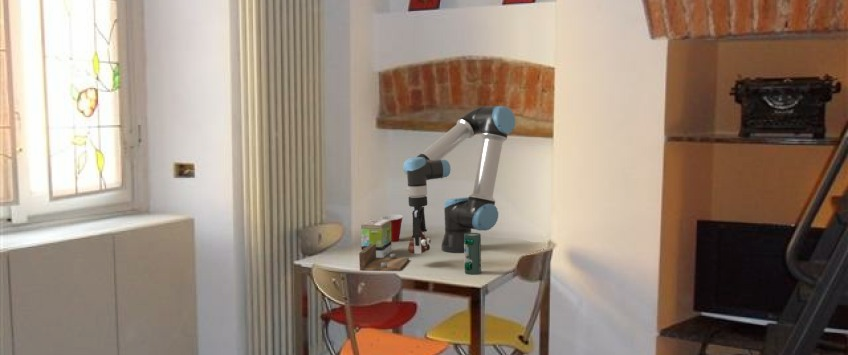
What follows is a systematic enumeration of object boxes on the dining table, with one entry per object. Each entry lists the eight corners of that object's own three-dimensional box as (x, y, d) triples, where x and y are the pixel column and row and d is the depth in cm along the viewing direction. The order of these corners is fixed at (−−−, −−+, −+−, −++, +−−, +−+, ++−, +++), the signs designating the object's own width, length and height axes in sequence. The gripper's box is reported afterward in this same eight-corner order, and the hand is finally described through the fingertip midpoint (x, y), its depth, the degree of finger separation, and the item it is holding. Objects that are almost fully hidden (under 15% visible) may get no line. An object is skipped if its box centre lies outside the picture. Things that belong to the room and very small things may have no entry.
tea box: (383, 259, 316) (382, 224, 314) (361, 258, 318) (359, 224, 316) (392, 252, 330) (391, 218, 329) (370, 251, 332) (369, 218, 331)
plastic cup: (376, 241, 355) (375, 216, 354) (391, 238, 364) (390, 213, 363) (394, 243, 349) (393, 218, 348) (408, 240, 357) (407, 215, 356)
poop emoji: (416, 248, 308) (415, 225, 307) (434, 249, 304) (433, 226, 303) (404, 253, 300) (402, 230, 298) (422, 254, 295) (421, 231, 294)
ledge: (408, 260, 312) (408, 243, 311) (399, 271, 292) (399, 253, 291) (371, 259, 314) (371, 243, 314) (359, 270, 295) (359, 253, 294)
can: (464, 271, 289) (463, 233, 288) (479, 270, 289) (479, 232, 288) (466, 274, 283) (465, 235, 282) (481, 274, 283) (481, 235, 282)
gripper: (413, 192, 311) (415, 244, 313) (403, 200, 289) (406, 256, 291) (431, 191, 309) (433, 244, 312) (422, 200, 287) (424, 256, 290)
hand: (420, 250), depth 302 cm, fingers closed on poop emoji, 10 cm apart
